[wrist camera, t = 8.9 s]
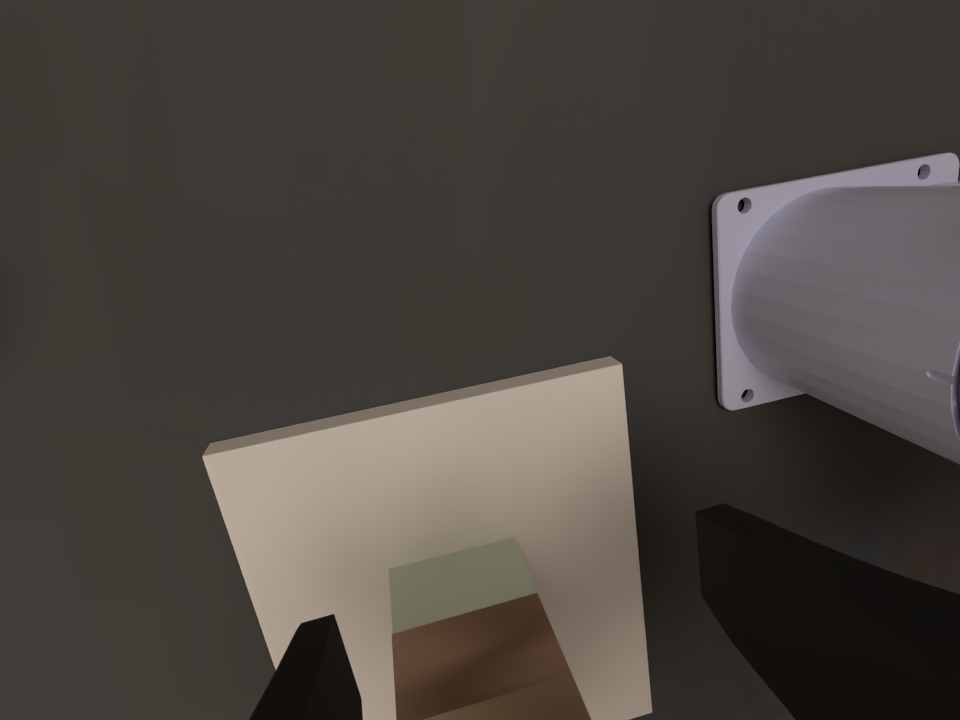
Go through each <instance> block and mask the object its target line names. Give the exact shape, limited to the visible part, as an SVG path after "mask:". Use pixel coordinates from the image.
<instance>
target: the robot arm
mask: <svg viewBox="0 0 960 720" xmlns="http://www.w3.org/2000/svg"><path fill="white" fill-rule="evenodd" d="M919 168H920V174H919V176H918V174H917V173H918V169H919ZM958 173H959V160H958V158H957V156H956V155H955V154H953V153H940V154H934V155H929V156H923V157H918V158H912V159H907V160H901V161H896V162H891V163H885V164H880V165H874V166H869V167H863V168H858V169H852V170H847V171H841V172H836V173H831V174H825V175H820V176H814V177H809V178H803V179H798V180H792V181H787V182H781V183H776V184H771V185H765V186H760V187H754V188H749V189H743V190H738V191H732V192H727V193H723V194H721V195H719V196H718V197H717V198H716V199H715V201H714V203H713V204H712V236H713V266H714V296H715V326H716V357H717V387H718V401H719V403H720V405H721V406H723V407H724V408H726V409H728V410H738V409H742V408H747V407H751V406H755V405H759V404H763V403H768V402H772V401H776V400H780V399H784V398H788V397H793V396H797V395H801V394H805V393H806V394H808V395H810V396H812V397H815V398H817V399H819V400H821V401H823V402H825V403H828V404H830V405H832V406H834V407H836V408H838V409H841V410H843V411H845V412H847V413H849V414H851V415H854V416H856V417H858V418H860V419H862V420H864V421H867V422H869V423H871V424H873V425H875V426H877V427H880V428H882V429H884V430H886V431H888V432H890V433H893V434H895V435H897V436H899V437H901V438H903V439H906V440H908V441H910V442H912V443H914V444H916V445H919V446H921V447H923V448H925V449H927V450H929V451H932V452H934V453H936V454H938V455H940V456H942V457H945V458H947V459H949V460H951V461H953V462H955V463H958V464H960V182H958ZM741 199H743V200H744V208H743V210H742V211H741V212H739V211H738V208H737V206H738V202H739V201H740V200H741ZM745 390H747V394H746V396H745V397H744V398H742V399H741V395H742V393H743V392H744V391H745ZM695 512H696V525H697V539H698V552H699V566H700V579H701V593H702V596H703V598H704V600H705V601H706V603H707V604H708V606H709V608H710V609H711V611H712V612H713V614H714V615H715V617H716V619H717V620H718V622H719V623H720V625H721V626H722V628H723V629H724V631H725V632H726V634H727V635H728V637H729V638H730V640H731V641H732V643H733V644H734V645H735V646H736V648H737V649H738V650H739V651H740V653H741V654H742V655H743V656H744V658H745V659H746V660H747V661H748V662H749V664H750V665H751V666H752V667H753V669H754V670H755V671H756V672H757V673H758V675H759V676H760V677H761V678H762V679H763V681H764V682H765V683H766V684H767V685H768V687H769V688H770V689H771V690H772V691H773V693H774V694H775V695H776V696H777V697H778V699H779V700H780V701H781V702H782V703H783V705H784V706H785V707H786V708H787V709H788V711H789V712H790V713H791V714H792V715H793V717H794V718H795V719H796V720H960V594H957V593H954V592H950V591H947V590H944V589H941V588H937V587H934V586H931V585H928V584H925V583H922V582H919V581H916V580H913V579H910V578H907V577H904V576H901V575H898V574H896V573H893V572H890V571H888V570H885V569H882V568H879V567H877V566H874V565H871V564H869V563H866V562H863V561H861V560H858V559H856V558H853V557H850V556H848V555H845V554H843V553H840V552H838V551H835V550H833V549H831V548H828V547H826V546H823V545H821V544H819V543H816V542H814V541H811V540H809V539H807V538H804V537H802V536H800V535H797V534H795V533H793V532H790V531H788V530H786V529H783V528H781V527H779V526H777V525H774V524H772V523H770V522H767V521H765V520H763V519H760V518H758V517H756V516H753V515H751V514H749V513H746V512H744V511H742V510H739V509H737V508H734V507H732V506H729V505H726V504H720V505H717V506H713V507H709V508H706V509H702V510H699V511H695ZM249 720H363V715H362V700H361V695H360V692H359V689H358V686H357V683H356V680H355V677H354V674H353V671H352V668H351V665H350V661H349V658H348V655H347V652H346V649H345V646H344V643H343V640H342V637H341V634H340V631H339V627H338V624H337V621H336V618H335V615H334V614H332V615H328V616H325V617H321V618H318V619H314V620H311V621H307V622H303V623H301V624H300V625H299V627H298V628H297V630H296V632H295V634H294V636H293V638H292V639H291V641H290V643H289V645H288V647H287V649H286V651H285V653H284V655H283V657H282V659H281V661H280V663H279V665H278V667H277V669H276V671H275V673H274V675H273V677H272V679H271V681H270V682H269V684H268V686H267V688H266V690H265V692H264V694H263V696H262V697H261V699H260V701H259V703H258V705H257V706H256V708H255V710H254V712H253V714H252V715H251V717H250V719H249Z"/></svg>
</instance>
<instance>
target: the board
mask: <svg viewBox="0 0 960 720" xmlns="http://www.w3.org/2000/svg"><path fill="white" fill-rule="evenodd" d="M202 457H203V460H204V463H205V466H206V469H207V472H208V475H209V478H210V481H211V484H212V486H213V489H214V492H215V495H216V498H217V501H218V504H219V507H220V510H221V513H222V515H223V518H224V521H225V524H226V527H227V530H228V533H229V536H230V539H231V542H232V545H233V547H234V550H235V553H236V556H237V559H238V562H239V565H240V568H241V571H242V574H243V576H244V579H245V582H246V585H247V588H248V591H249V594H250V597H251V600H252V603H253V606H254V608H255V611H256V614H257V617H258V620H259V623H260V626H261V629H262V632H263V635H264V638H265V640H266V643H267V646H268V649H269V652H270V655H271V658H272V661H273V664H274V667H275V669H277V667H278V665H279V663H280V661H281V659H282V657H283V655H284V653H285V651H286V649H287V647H288V645H289V643H290V641H291V639H292V638H293V636H294V634H295V632H296V630H297V628H298V627H299V625H300V624H301V623H303V622H307V621H311V620H314V619H318V618H321V617H325V616H328V615H332V614H334V615H335V618H336V621H337V624H338V627H339V631H340V634H341V637H342V640H343V643H344V646H345V649H346V652H347V655H348V658H349V661H350V665H351V668H352V671H353V674H354V677H355V680H356V683H357V686H358V689H359V692H360V695H361V700H362V715H363V720H396V703H395V686H394V669H393V652H392V635H391V634H395V633H398V632H402V631H405V630H409V629H412V628H416V627H419V626H423V625H426V624H430V623H433V622H437V621H440V620H444V619H447V618H451V617H454V616H458V615H461V614H465V613H468V612H472V611H475V610H479V609H482V608H486V607H489V606H493V605H496V604H500V603H503V602H507V601H510V600H514V599H517V598H521V597H524V596H528V595H531V594H535V593H538V596H539V598H540V601H541V603H542V605H543V608H544V610H545V612H546V615H547V617H548V619H549V622H550V624H551V626H552V629H553V631H554V633H555V636H556V638H557V640H558V643H559V645H560V647H561V650H562V652H563V654H564V657H565V659H566V661H567V664H568V666H569V668H570V671H571V673H572V675H573V678H574V680H575V683H576V685H577V687H578V690H579V692H580V694H581V697H582V699H583V701H584V704H585V706H586V708H587V711H588V713H589V715H590V718H591V720H629V719H633V718H636V717H639V716H642V715H646V714H649V713H652V703H651V692H650V680H649V669H648V657H647V646H646V634H645V623H644V611H643V600H642V588H641V577H640V565H639V554H638V542H637V531H636V519H635V508H634V496H633V485H632V474H631V462H630V451H629V439H628V428H627V416H626V405H625V393H624V382H623V370H622V364H621V363H620V362H618V361H617V360H615V359H614V358H612V357H611V356H608V357H604V358H599V359H595V360H590V361H586V362H581V363H576V364H572V365H567V366H563V367H558V368H553V369H549V370H544V371H540V372H535V373H530V374H526V375H521V376H517V377H512V378H508V379H503V380H498V381H494V382H489V383H485V384H480V385H475V386H471V387H466V388H462V389H457V390H452V391H448V392H443V393H439V394H434V395H430V396H425V397H420V398H416V399H411V400H407V401H402V402H397V403H393V404H388V405H384V406H379V407H374V408H370V409H365V410H361V411H356V412H352V413H347V414H342V415H338V416H333V417H329V418H324V419H319V420H315V421H310V422H306V423H301V424H296V425H292V426H287V427H283V428H278V429H273V430H269V431H264V432H260V433H255V434H251V435H246V436H241V437H237V438H232V439H228V440H223V441H218V442H214V443H210V445H209V446H208V448H207V449H206V451H205V453H204V454H203V456H202Z"/></svg>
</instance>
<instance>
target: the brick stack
mask: <svg viewBox="0 0 960 720" xmlns="http://www.w3.org/2000/svg"><path fill="white" fill-rule="evenodd" d="M391 635H392V652H393V669H394V686H395V703H396V720H591V718H590V715H589V713H588V711H587V708H586V706H585V704H584V701H583V699H582V697H581V694H580V692H579V690H578V687H577V685H576V683H575V680H574V678H573V675H572V673H571V671H570V668H569V666H568V664H567V661H566V659H565V657H564V654H563V652H562V650H561V647H560V645H559V643H558V640H557V638H556V636H555V633H554V631H553V629H552V626H551V624H550V622H549V619H548V617H547V615H546V612H545V610H544V608H543V605H542V603H541V601H540V598H539V596H538V593H535V594H531V595H528V596H524V597H521V598H517V599H514V600H510V601H507V602H503V603H500V604H496V605H493V606H489V607H486V608H482V609H479V610H475V611H472V612H468V613H465V614H461V615H458V616H454V617H451V618H447V619H444V620H440V621H437V622H433V623H430V624H426V625H423V626H419V627H416V628H412V629H409V630H405V631H402V632H398V633H395V634H391Z"/></svg>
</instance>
